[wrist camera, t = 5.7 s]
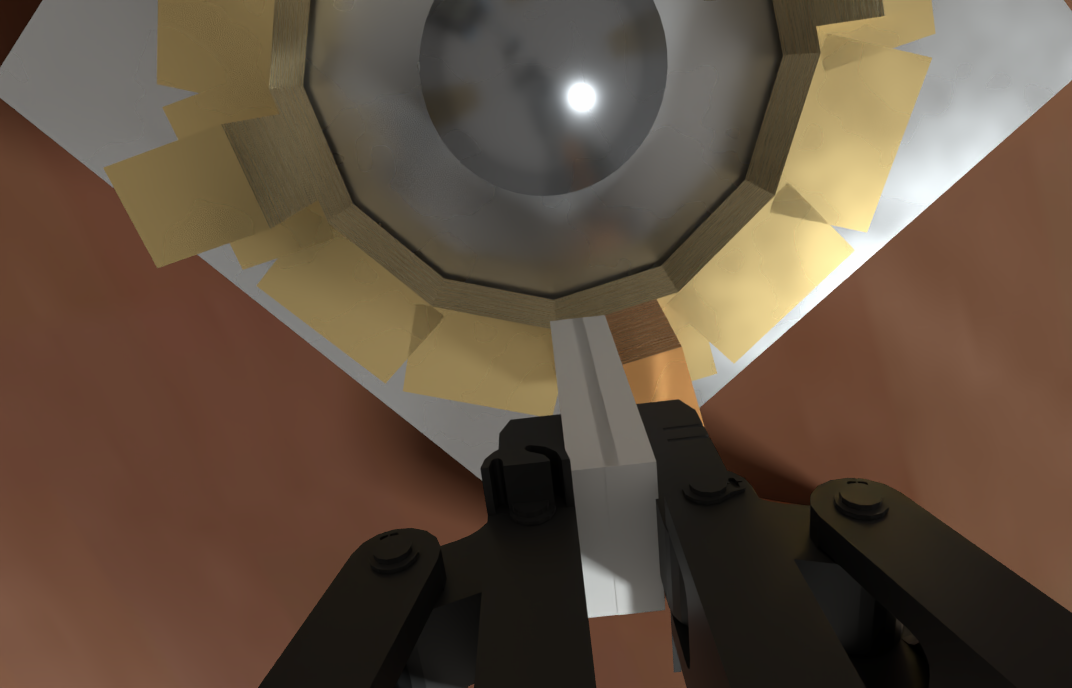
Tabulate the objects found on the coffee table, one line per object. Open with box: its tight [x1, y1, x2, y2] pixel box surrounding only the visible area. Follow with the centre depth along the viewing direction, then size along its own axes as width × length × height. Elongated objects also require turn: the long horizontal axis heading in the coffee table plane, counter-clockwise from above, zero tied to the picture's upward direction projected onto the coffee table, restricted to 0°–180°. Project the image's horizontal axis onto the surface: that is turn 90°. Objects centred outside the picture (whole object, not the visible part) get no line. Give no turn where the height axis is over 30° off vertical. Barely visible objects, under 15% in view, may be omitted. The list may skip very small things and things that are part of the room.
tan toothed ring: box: [103, 0, 936, 426], centre depth 15 cm, size 16×16×6 cm
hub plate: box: [0, 0, 1072, 480], centre depth 17 cm, size 20×20×5 cm
